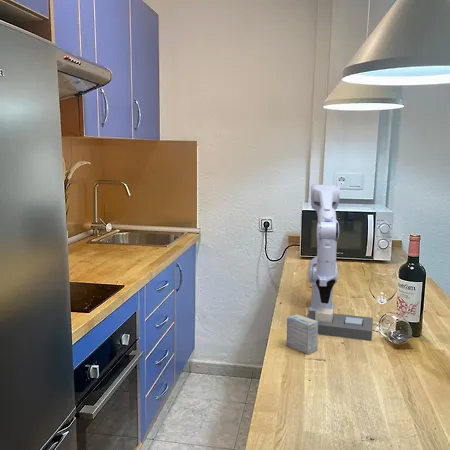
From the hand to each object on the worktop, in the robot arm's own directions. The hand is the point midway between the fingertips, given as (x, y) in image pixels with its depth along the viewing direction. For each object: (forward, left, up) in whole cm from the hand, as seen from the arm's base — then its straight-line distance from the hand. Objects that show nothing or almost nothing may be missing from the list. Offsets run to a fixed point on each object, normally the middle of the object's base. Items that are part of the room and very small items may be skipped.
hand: (324, 302), depth 146 cm
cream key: (0, 0, -6) cm, 6 cm away
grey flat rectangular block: (0, +4, -8) cm, 9 cm away
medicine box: (+18, -4, -8) cm, 20 cm away
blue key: (0, +9, -8) cm, 12 cm away
